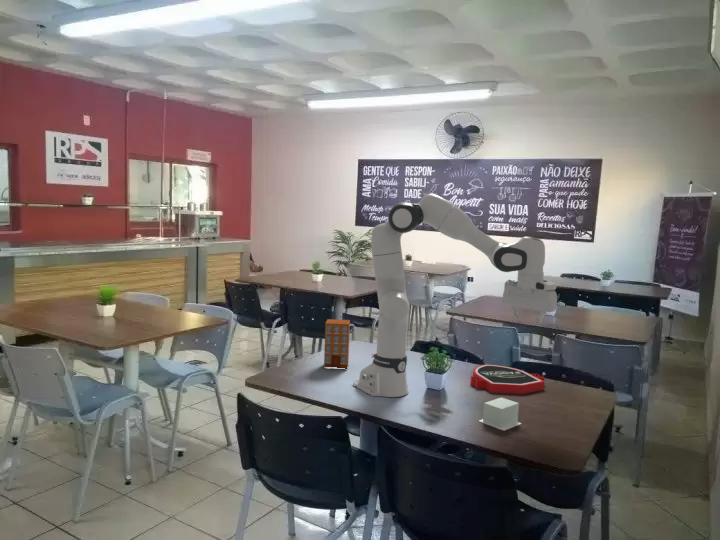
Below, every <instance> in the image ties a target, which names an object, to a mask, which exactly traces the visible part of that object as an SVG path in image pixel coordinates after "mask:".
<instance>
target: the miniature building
mask: <svg viewBox="0 0 720 540" xmlns="http://www.w3.org/2000/svg"><path fill="white" fill-rule="evenodd" d="M324 324H325V325H324V354H323V355H324V356H323V368H324V367H337V368H345V369H347V370H348V368H347V367H349V356H350V355H349V354H350V332H351V331H350V330H351V329H350V328H351V320H349V319H329V318H327V319H326V321H325V323H324Z"/></svg>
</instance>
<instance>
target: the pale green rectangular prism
mask: <svg viewBox="0 0 720 540" xmlns="http://www.w3.org/2000/svg"><path fill="white" fill-rule="evenodd" d="M519 406H520V402H516V401H513V400H510V399H507V398H504V397H498V398H496V399H495V398H494V399H491V400H489V401H486V402H484V403H483V415H482V419H483V422H485V423H488V424H490V425H493V426H496V427H498V428H503V427H505V426H508V425H511V424H513V423H516V422H519V421H518V420H519V410H520V409H519ZM490 425H489V426H490ZM498 428H497V429H498Z"/></svg>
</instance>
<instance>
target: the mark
mask: <svg viewBox="0 0 720 540" xmlns="http://www.w3.org/2000/svg"><path fill="white" fill-rule="evenodd" d="M478 422H479V423H481V424H484V425H487V426H491V427H493V428H496V429H498V430H501V431H503V432H504V431H507V430H510V429H512V428H514V427H517V426H518V427H519V426H520V425H522V423H521V422H519V421H518V422H516V423H513V424H511V425H508V426H505V427H503V428H498V427H496V426H493V425H490V424H488V423H485V422H483V418H481V419H479V420H478Z"/></svg>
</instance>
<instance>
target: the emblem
mask: <svg viewBox="0 0 720 540" xmlns="http://www.w3.org/2000/svg"><path fill="white" fill-rule="evenodd" d="M472 373H473V374H472V375H471V376H470V385H471V386H473V387H474V388H475V389H477V390H479V389H480V388H481V389H485V390H486V391H488V392H489V393H497V394H498V393H500V394H514V393H515V395H516V394H517V395H524V394H528V393H532V392H533V393H534V392H538V391H539V392H540V391H543V390H545V377H544V376H542V375H540V374H539V373H529V372H527V371H525V370H522V369H518V368H515V367H509V366H505V365H498V364H488V363H487V364H486V363H485V364H481V365H478V366H476V367H474V368H473V371H472Z"/></svg>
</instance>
